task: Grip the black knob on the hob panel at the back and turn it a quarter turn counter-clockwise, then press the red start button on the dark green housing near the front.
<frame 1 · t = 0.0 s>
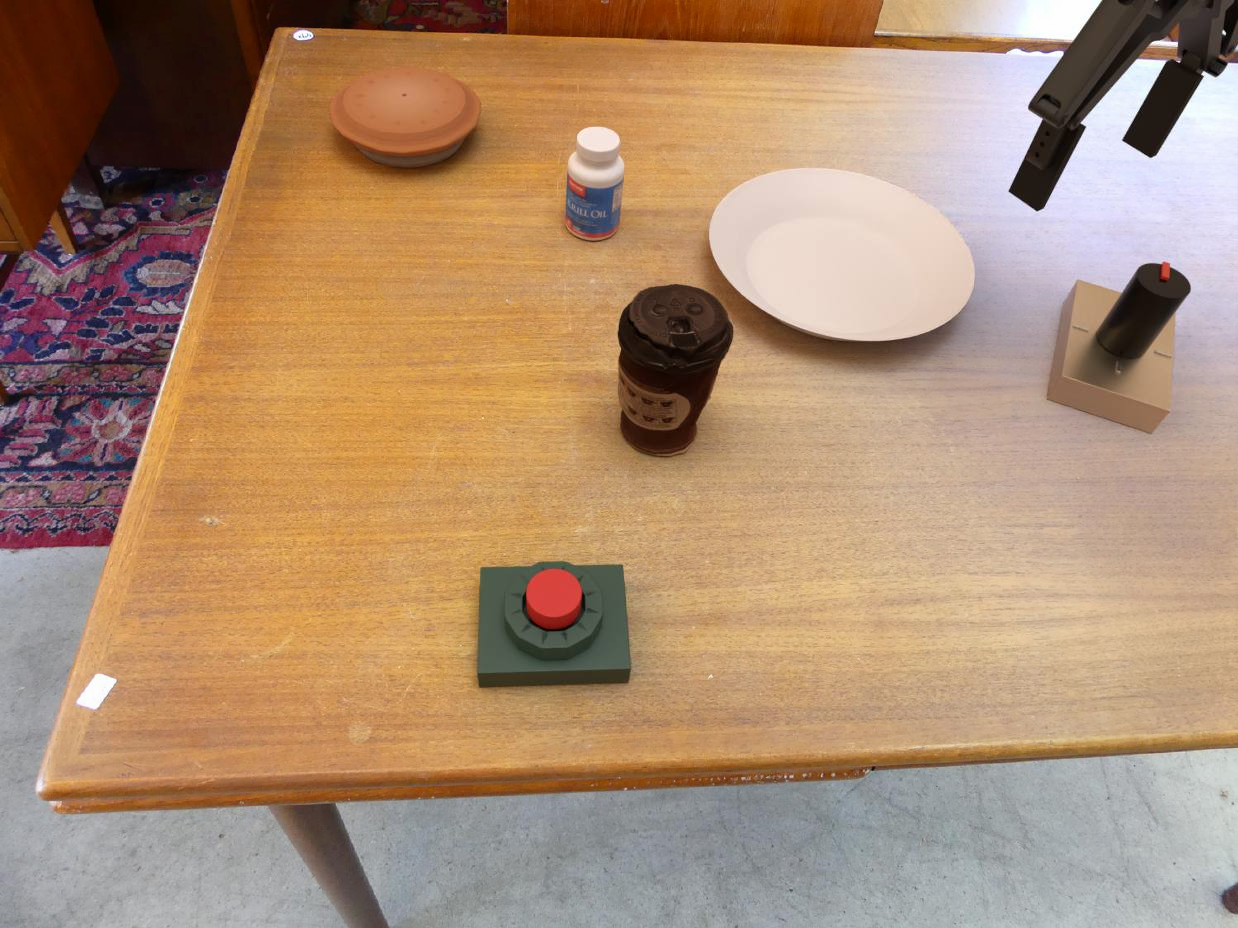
hand: (1084, 173, 69), 19 cm above the table, tool pointing down, fingers open, 13 cm apart
white plate: (831, 278, 89), on the table
hob panel: (1104, 364, 84), on the table
button box: (553, 631, 64), on the table
pill bottle: (592, 227, 91), on the table
start button: (553, 598, 60), point 5 cm above the table, slide at 0.2 cm
hob knob: (1142, 310, 79), point 7 cm above the table, hinge at 0.0°
pie: (409, 139, 98), on the table
coffee cup: (657, 431, 76), on the table
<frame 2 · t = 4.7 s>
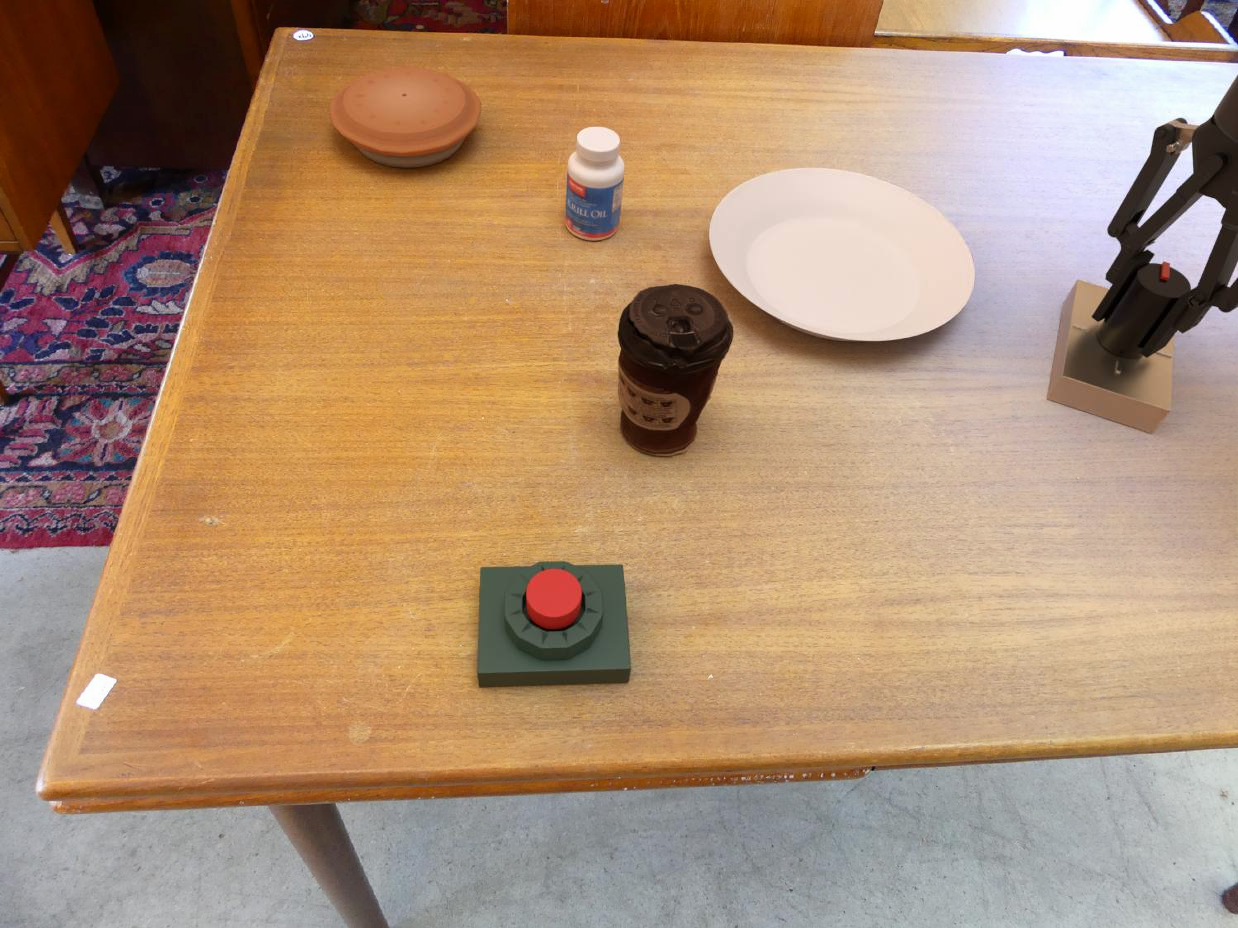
hand: (1128, 331, 81), 4 cm above the table, tool pointing down, fingers closed on hob knob, 4 cm apart
hob knob: (1142, 310, 79), point 7 cm above the table, hinge at 0.0°, touching gripper
everything else where it was.
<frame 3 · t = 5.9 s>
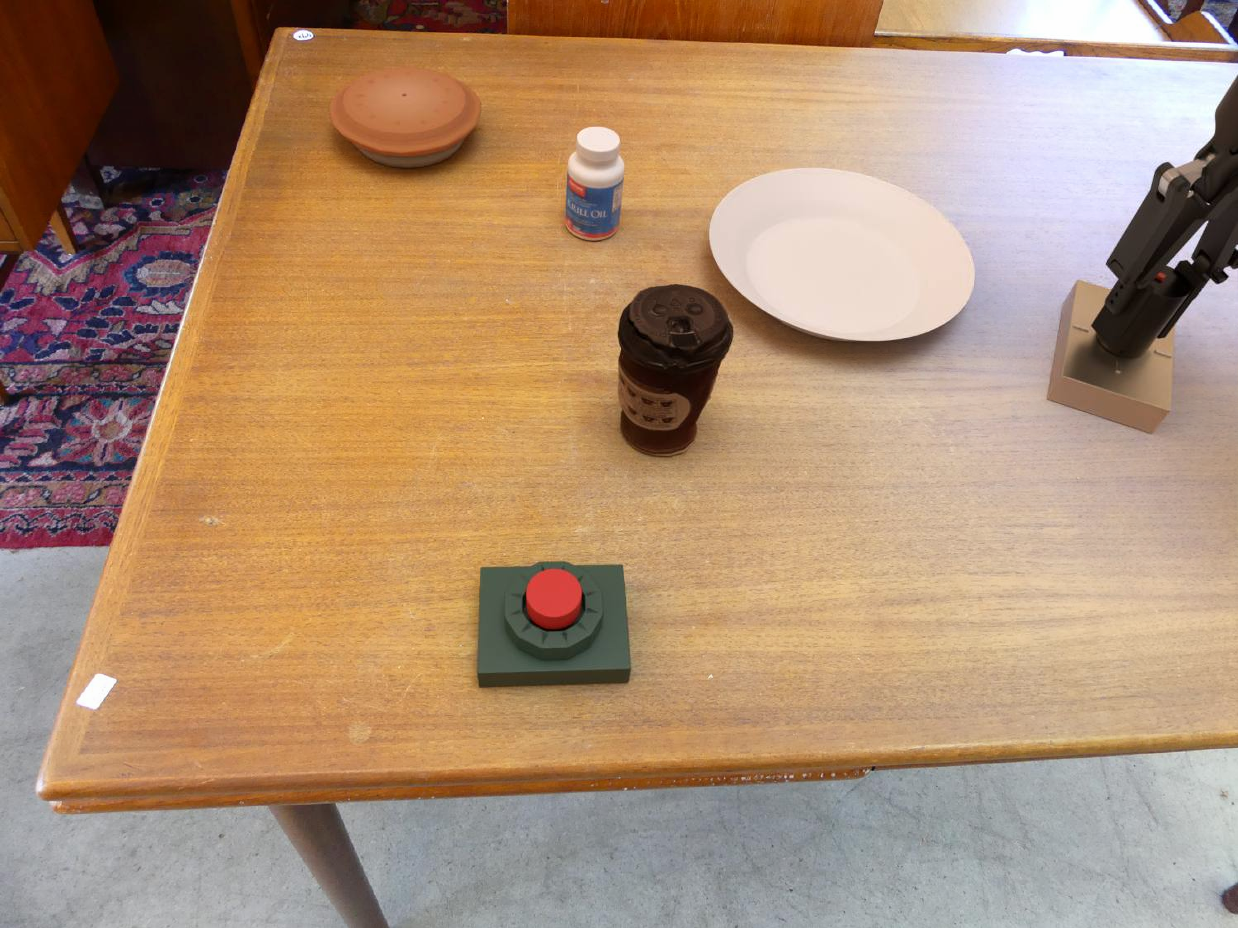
hand: (1128, 331, 81), 4 cm above the table, tool pointing down, fingers closed on hob knob, 4 cm apart
hob knob: (1142, 310, 79), point 7 cm above the table, hinge at 69.7°, touching gripper
everything else where it was.
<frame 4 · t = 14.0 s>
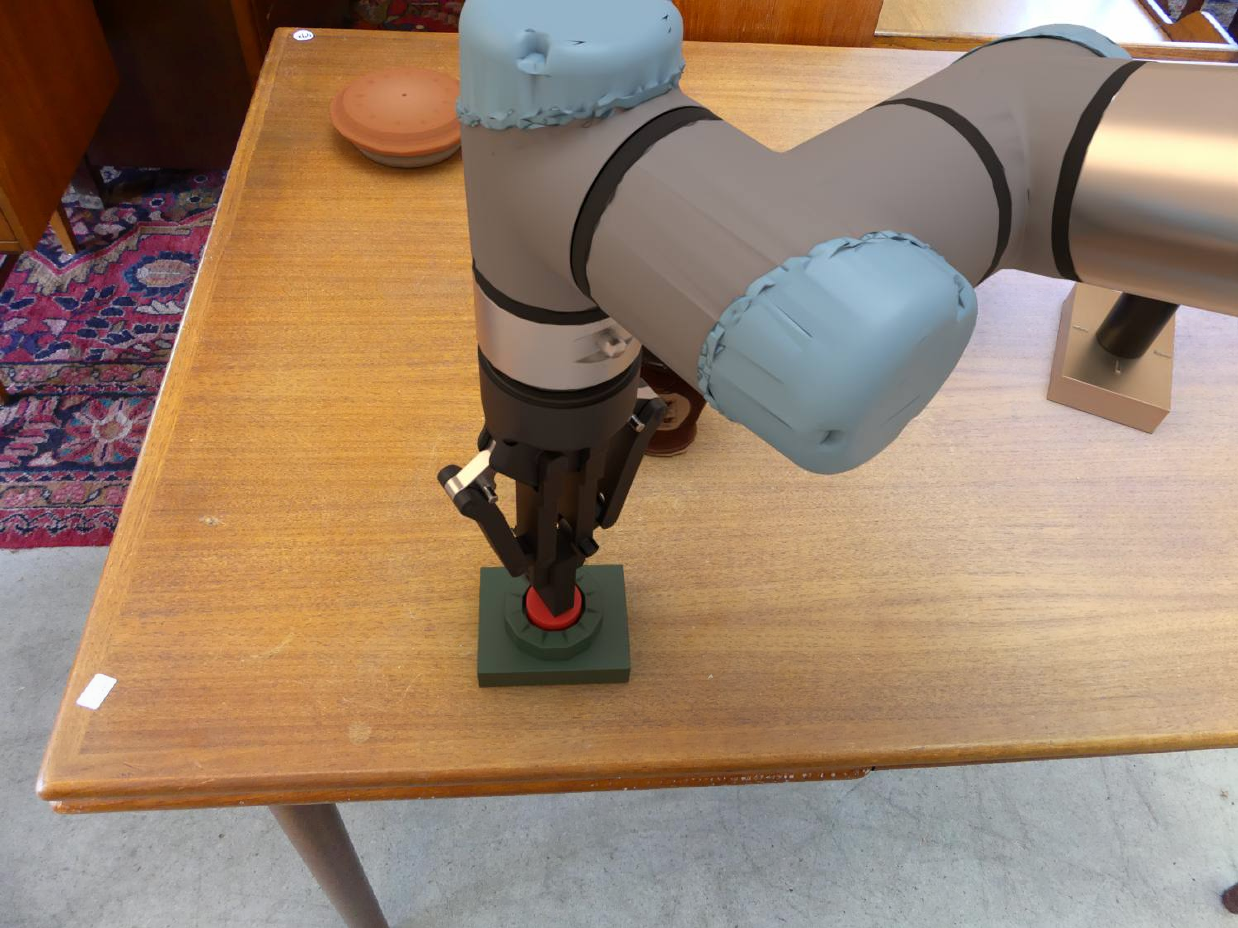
hand: (553, 596, 60), 5 cm above the table, tool pointing down, fingers closed
start button: (553, 606, 61), point 4 cm above the table, slide at -0.8 cm, touching gripper
hob knob: (1142, 310, 79), point 7 cm above the table, hinge at 89.0°
everything else where it was.
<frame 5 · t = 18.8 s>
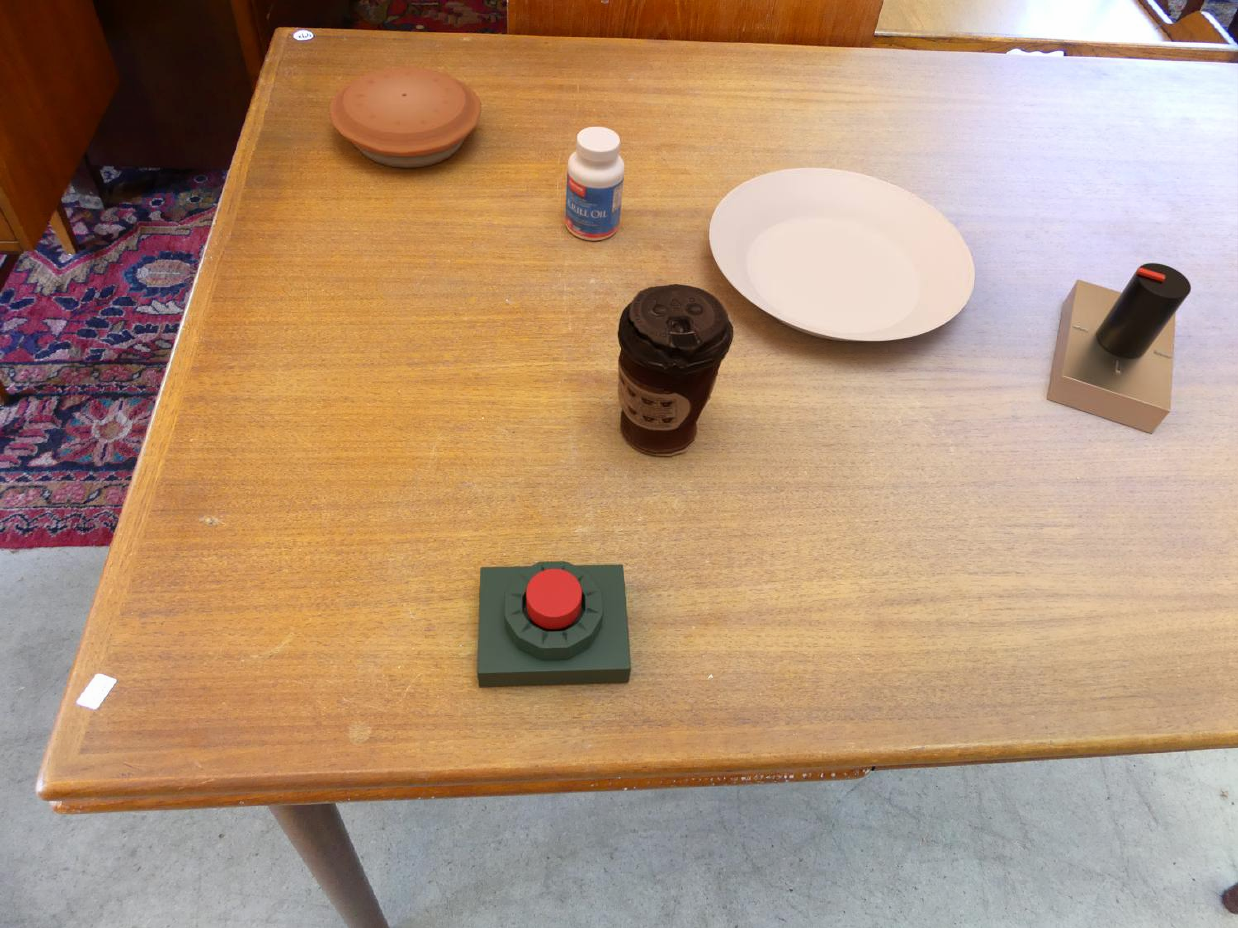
start button: (553, 598, 60), point 5 cm above the table, slide at 0.2 cm
everything else where it was.
at the end: hob knob at +89° (first picture: +0°); start button pushed in 1.0 cm at the most during the clip, back to 0.2 cm at the end; start button slide at 0.2 cm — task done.
